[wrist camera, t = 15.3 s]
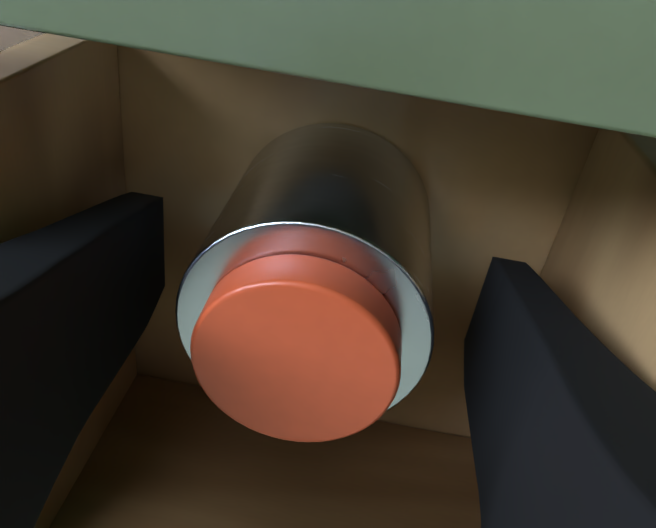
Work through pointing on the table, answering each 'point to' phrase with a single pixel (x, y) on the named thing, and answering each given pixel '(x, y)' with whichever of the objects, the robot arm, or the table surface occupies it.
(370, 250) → the small jar with lid
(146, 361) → the drawer
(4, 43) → the table surface
